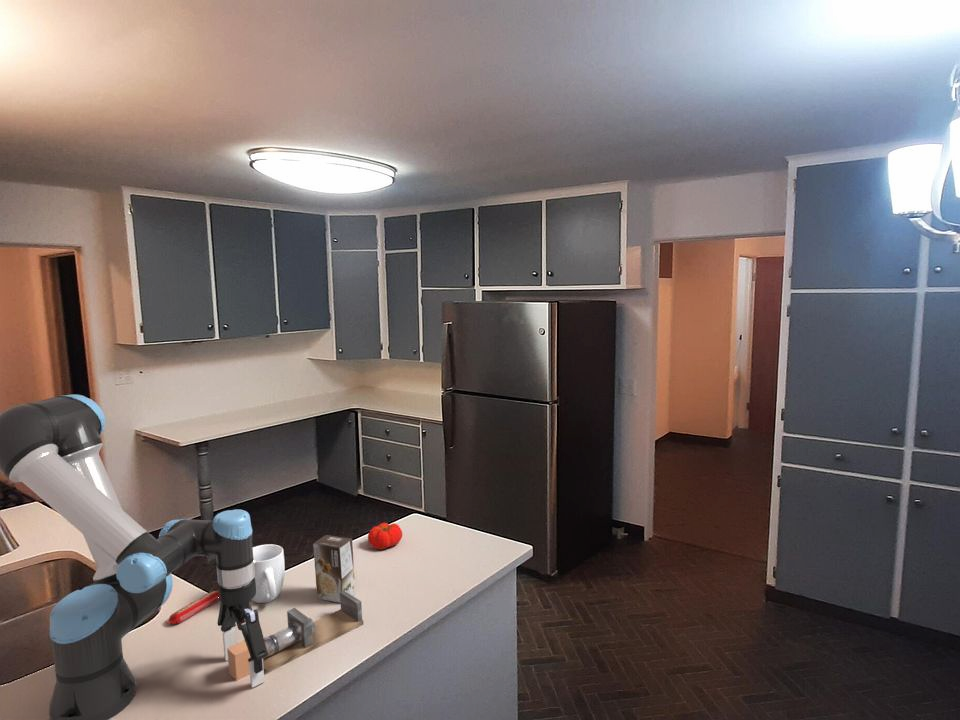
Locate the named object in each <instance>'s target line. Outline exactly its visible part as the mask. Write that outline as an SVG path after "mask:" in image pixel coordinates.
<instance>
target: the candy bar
mask: <svg viewBox="0 0 960 720" xmlns="http://www.w3.org/2000/svg"><path fill="white" fill-rule="evenodd" d="M218 597H219V590H213V591H210V592H208V593H206V594H204V595H202V596H201V597H199V598H197V599H195V600H194V601H192V602H190V603H189V604H187V605H185V606H184V607H181V608H180V609H178V610H176V611H175V612H173V613H171V615H169V619H168V621H167V622H166V624H171V625H175V624H180V623H182V622H184V621H186V620H187V619H189V618H191V617H192V616H194V615H197V614H198V613H199V612H201V611H203V610H205V609H206V608H208V607H210V606H211V605H213V604H215V603H216V602H217V601H220V598H218Z"/></svg>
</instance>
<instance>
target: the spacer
mask: <svg viewBox="0 0 960 720" xmlns="http://www.w3.org/2000/svg"><path fill="white" fill-rule="evenodd" d="M227 652H228V660H227V662H228V673H229V674H230V675H231V677H232V678H234V680H235V681H236V682H239V680H241V679H243V678H244V679H245V677H248V676H250V668H249V662H248V659H249V658H250V654H249V651H248V648H247V645H246V642H245V639H244V640H242V641H240V642H238V643H237V644H235V645H233V646H231V647H229V648H227Z"/></svg>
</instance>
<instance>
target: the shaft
mask: <svg viewBox="0 0 960 720" xmlns="http://www.w3.org/2000/svg"><path fill="white" fill-rule="evenodd" d="M308 618H309V619H311V621H312V635H314V634H315V631H316V629H315V624H314V620H313V619H312V617H308ZM301 640H302V637H301V626H300V625H299V624H298V623H297V624H295V625H292V626H290V627H288V626H287V627H286V628H284V629H282V630H280V631H277V632H275V633H273V634H270V635H268V636H266V637H264V641H265V645H266V649H267V652H268V656H270V655H272V654H275V653H277V652H279V651H281V650H283V649H285V648H287V647H289V646H291V645H293V644H295V643H297V642H299V641H301ZM268 656H266V657H268ZM266 657H264V658H266ZM264 658H263V659H264Z"/></svg>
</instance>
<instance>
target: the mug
mask: <svg viewBox="0 0 960 720" xmlns="http://www.w3.org/2000/svg"><path fill="white" fill-rule="evenodd" d="M253 559H254V560H255V561H256V563H255V564H254V572H255V576H254V578H255V582H256V595H255V596H254V598H253V599H252V600H251V601H253V602H255V603H256V604H257V603H258V604H266V603H270V602H273V601H274V600H276V599H277V598H278V597H279V595H280V593H281V591H282V590H283V589H282V588H283V587H284V582H285V581H284V580H285V569H286V568H285V567H286V566H285V553H284V548H283V547H282V546H280V545H277V544H272V543H271V544H270V543H269V544H267V543H266V544H261V545H256V546H253Z"/></svg>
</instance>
